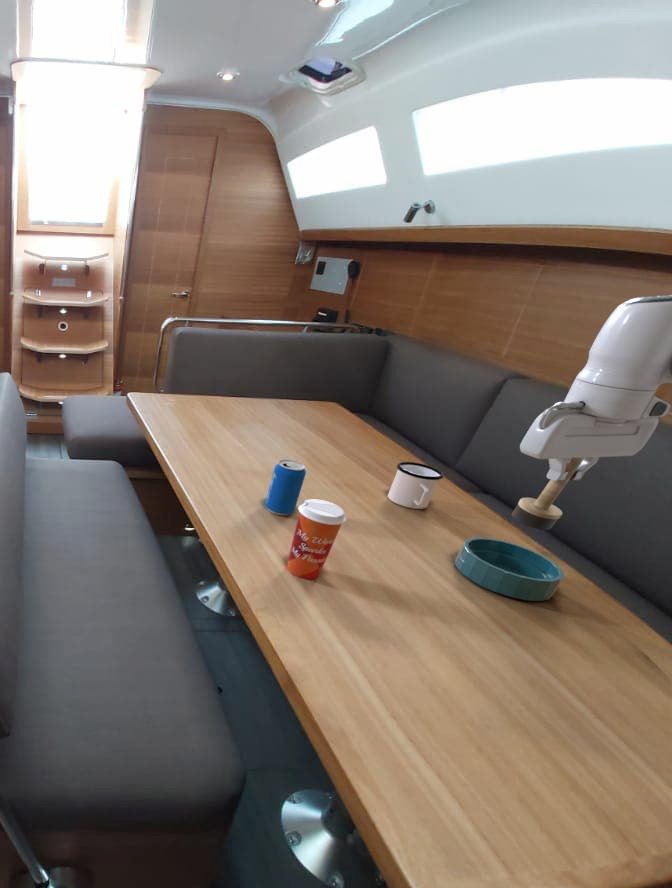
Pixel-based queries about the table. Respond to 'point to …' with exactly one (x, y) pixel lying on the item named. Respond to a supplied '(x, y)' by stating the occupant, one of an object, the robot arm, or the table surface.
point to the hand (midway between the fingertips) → (562, 479)
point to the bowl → (509, 569)
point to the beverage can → (285, 487)
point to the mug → (414, 484)
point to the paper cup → (314, 537)
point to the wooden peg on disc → (544, 502)
